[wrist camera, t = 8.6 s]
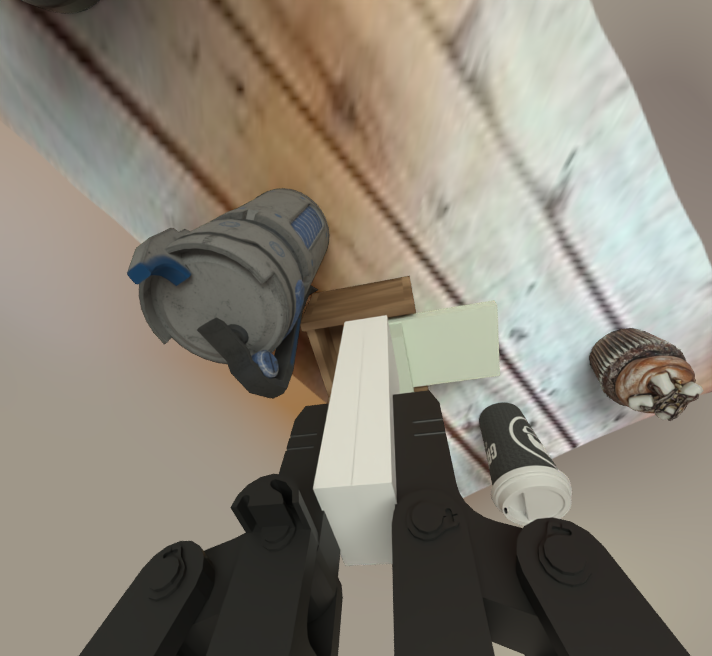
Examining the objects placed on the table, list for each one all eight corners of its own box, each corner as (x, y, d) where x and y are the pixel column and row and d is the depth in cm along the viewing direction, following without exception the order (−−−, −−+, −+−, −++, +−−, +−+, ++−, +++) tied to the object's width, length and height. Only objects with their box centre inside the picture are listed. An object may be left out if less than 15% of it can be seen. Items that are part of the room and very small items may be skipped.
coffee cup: (476, 392, 53) (507, 477, 40) (540, 397, 53) (591, 485, 40) (463, 437, 58) (487, 526, 45) (522, 442, 58) (562, 533, 45)
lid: (376, 319, 40) (376, 338, 37) (494, 300, 38) (505, 318, 34) (390, 384, 45) (391, 406, 41) (496, 369, 42) (507, 392, 39)
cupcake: (674, 328, 46) (742, 374, 37) (634, 385, 51) (686, 438, 42) (603, 316, 46) (655, 360, 37) (570, 375, 51) (609, 426, 42)
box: (312, 293, 47) (299, 323, 40) (409, 275, 45) (414, 304, 38) (336, 371, 53) (329, 409, 46) (422, 358, 51) (429, 397, 44)
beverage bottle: (293, 297, 47) (217, 438, 26) (228, 211, 42) (64, 296, 21) (356, 260, 44) (331, 386, 23) (294, 162, 39) (184, 202, 18)
